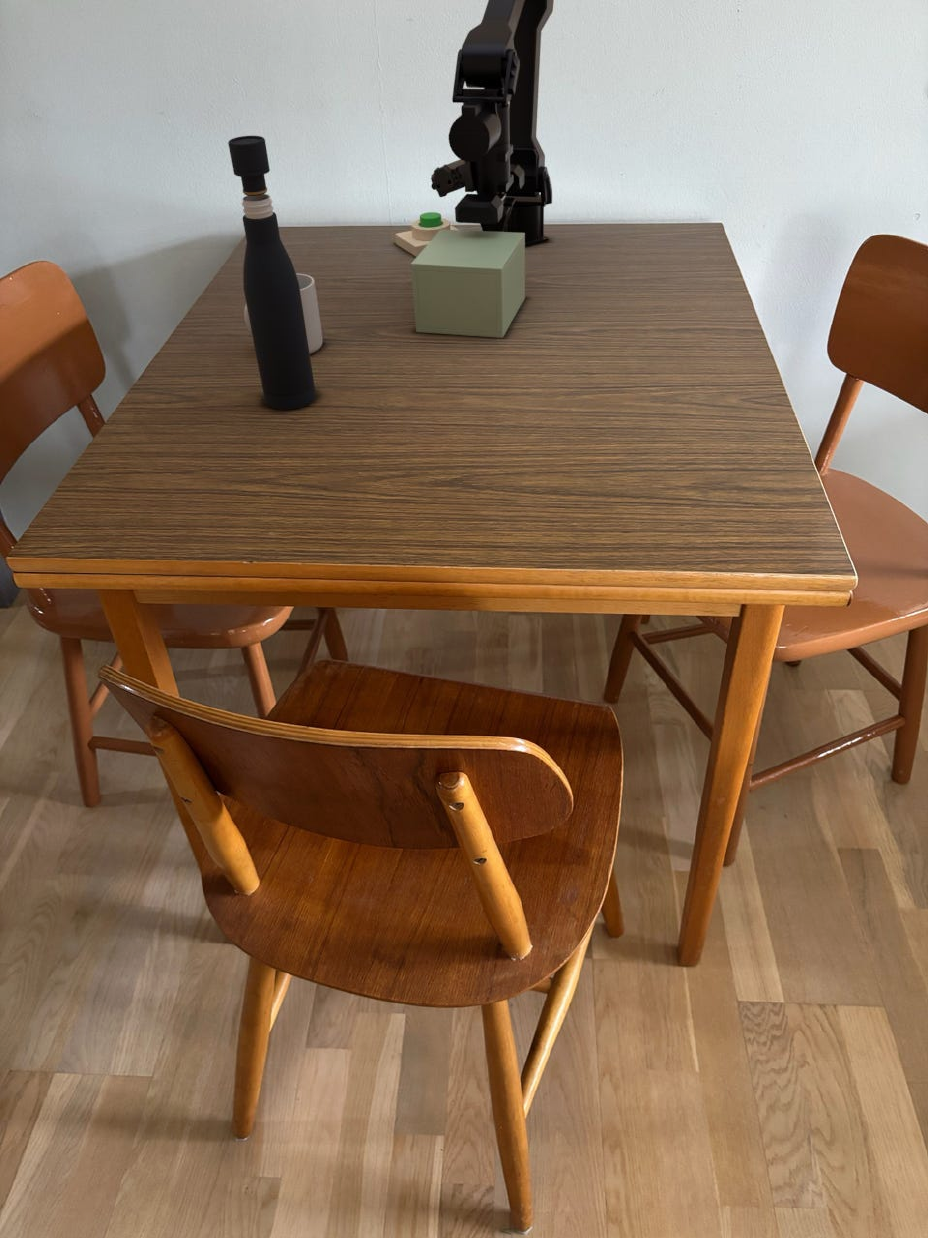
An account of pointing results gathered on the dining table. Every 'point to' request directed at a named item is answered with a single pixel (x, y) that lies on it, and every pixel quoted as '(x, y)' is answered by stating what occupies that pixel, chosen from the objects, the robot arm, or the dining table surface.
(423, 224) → the button
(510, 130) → the robot arm
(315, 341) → the cup
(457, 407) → the dining table surface
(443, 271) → the sage green box
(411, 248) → the control block
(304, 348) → the black insulated water bottle
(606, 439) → the dining table surface
